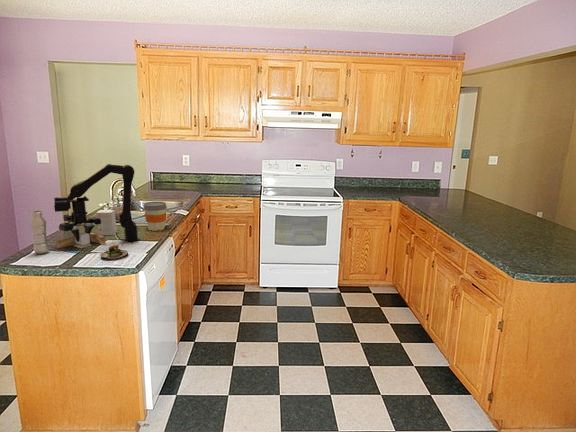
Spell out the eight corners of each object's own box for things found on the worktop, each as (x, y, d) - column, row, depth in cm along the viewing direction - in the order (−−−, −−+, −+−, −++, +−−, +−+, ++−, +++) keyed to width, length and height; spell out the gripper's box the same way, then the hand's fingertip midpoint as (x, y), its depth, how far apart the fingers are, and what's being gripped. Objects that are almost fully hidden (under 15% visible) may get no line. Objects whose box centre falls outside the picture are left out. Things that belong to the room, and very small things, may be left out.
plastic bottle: (32, 255, 183) (26, 213, 179) (36, 251, 190) (31, 210, 185) (47, 254, 185) (42, 213, 180) (51, 250, 191) (46, 209, 187)
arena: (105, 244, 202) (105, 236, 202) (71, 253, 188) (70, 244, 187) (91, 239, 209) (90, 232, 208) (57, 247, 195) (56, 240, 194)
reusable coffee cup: (169, 230, 230) (168, 205, 226) (146, 232, 225) (144, 206, 221) (165, 225, 241) (164, 201, 237) (144, 227, 236) (142, 202, 232)
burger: (98, 262, 178) (96, 246, 176) (103, 253, 189) (102, 238, 187) (126, 260, 181) (125, 244, 179) (130, 252, 192) (129, 237, 190)
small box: (116, 232, 224) (115, 209, 221) (113, 235, 218) (111, 212, 215) (102, 232, 223) (99, 209, 220) (97, 235, 217) (95, 212, 214)
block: (83, 241, 202) (82, 231, 201) (89, 243, 199) (89, 233, 198) (75, 243, 199) (74, 233, 198) (82, 245, 196) (81, 235, 195)
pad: (91, 245, 200) (91, 244, 200) (80, 248, 196) (80, 247, 195) (85, 242, 204) (85, 242, 204) (73, 245, 199) (73, 245, 199)
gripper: (88, 204, 207) (90, 233, 211) (51, 211, 192) (54, 242, 196) (100, 207, 201) (103, 237, 205) (63, 214, 186) (67, 246, 190)
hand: (82, 240), depth 199 cm, fingers open, 4 cm apart
